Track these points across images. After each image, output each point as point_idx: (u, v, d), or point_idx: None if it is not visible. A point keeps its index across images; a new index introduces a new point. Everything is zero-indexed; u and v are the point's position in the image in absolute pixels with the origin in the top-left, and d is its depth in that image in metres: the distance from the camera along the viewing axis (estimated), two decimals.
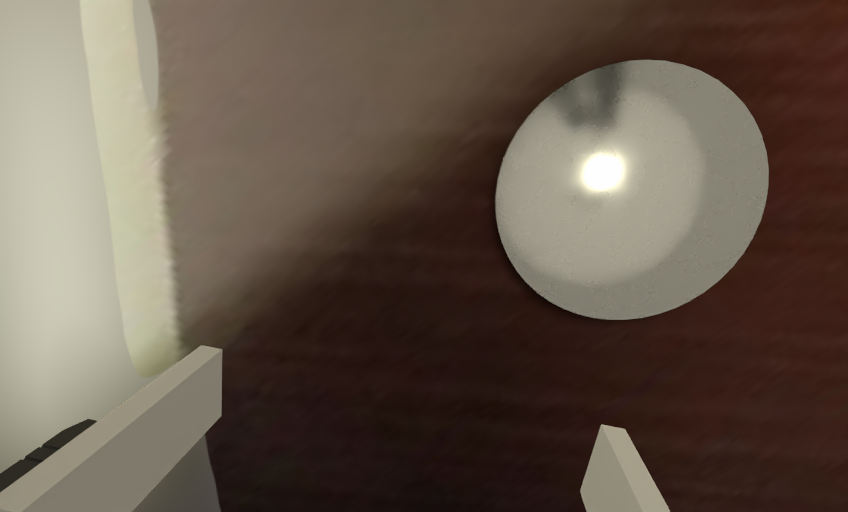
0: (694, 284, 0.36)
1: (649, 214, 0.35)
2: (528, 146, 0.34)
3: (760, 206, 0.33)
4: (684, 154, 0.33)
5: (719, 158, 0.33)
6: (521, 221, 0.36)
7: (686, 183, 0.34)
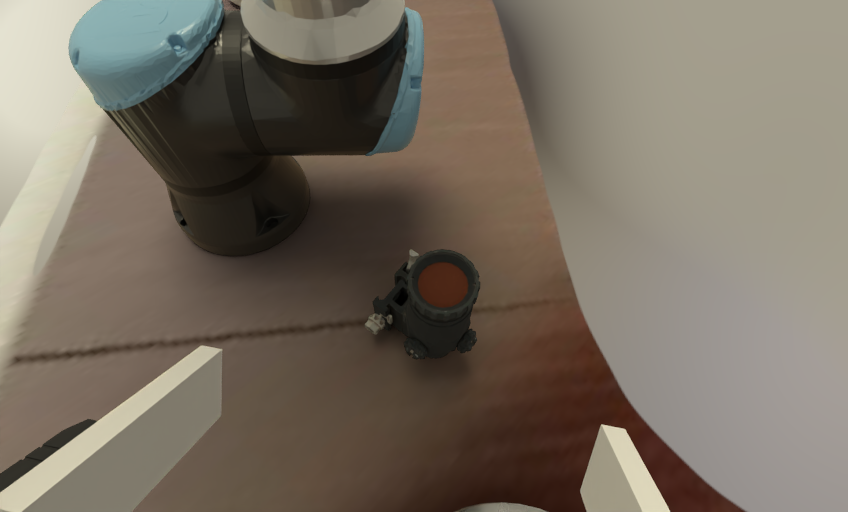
0: None
1: None
2: None
3: None
4: None
5: None
6: None
7: None
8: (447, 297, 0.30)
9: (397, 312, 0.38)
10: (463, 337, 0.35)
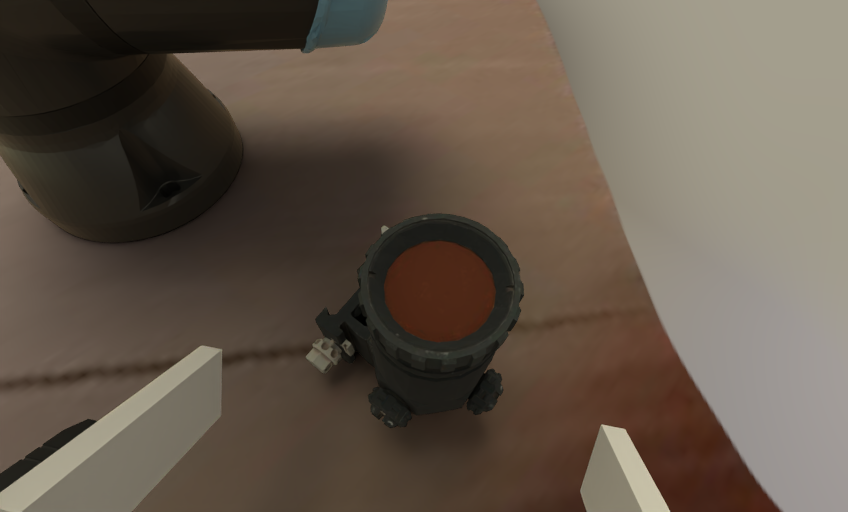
0: None
1: None
2: None
3: None
4: None
5: None
6: None
7: None
8: (449, 318, 0.13)
9: (359, 337, 0.21)
10: (479, 387, 0.19)
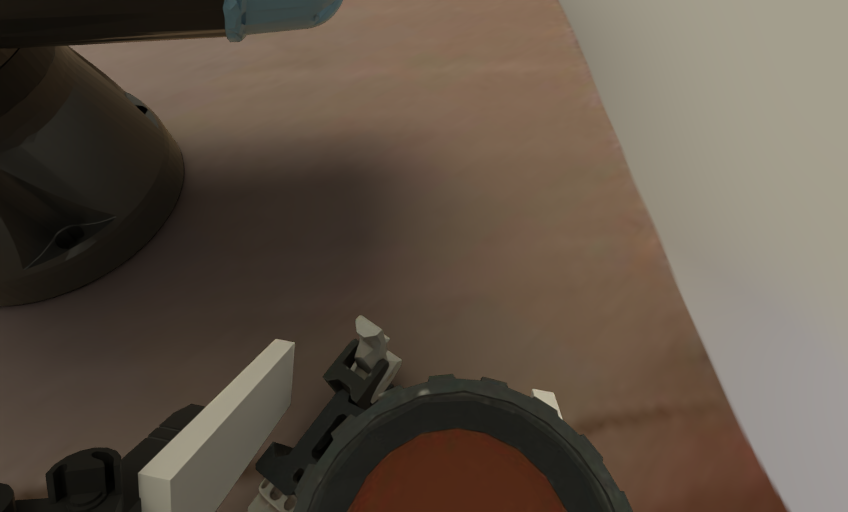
0: None
1: None
2: None
3: None
4: None
5: None
6: None
7: None
8: None
9: None
10: None
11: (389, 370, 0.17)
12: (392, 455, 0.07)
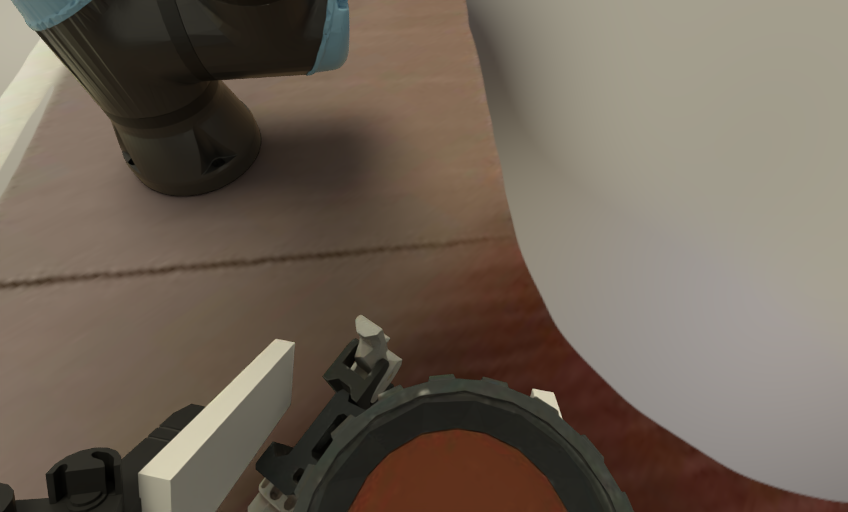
0: None
1: None
2: None
3: None
4: None
5: None
6: None
7: None
8: None
9: None
10: None
11: (389, 370, 0.17)
12: (392, 455, 0.07)
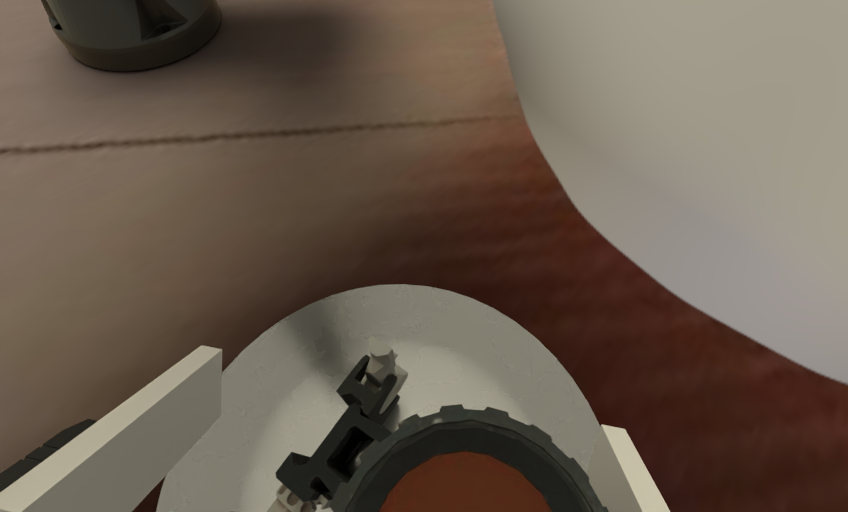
0: None
1: None
2: (221, 419, 0.21)
3: None
4: (463, 398, 0.22)
5: (514, 397, 0.22)
6: None
7: None
8: None
9: None
10: None
11: (397, 383, 0.19)
12: (410, 474, 0.08)
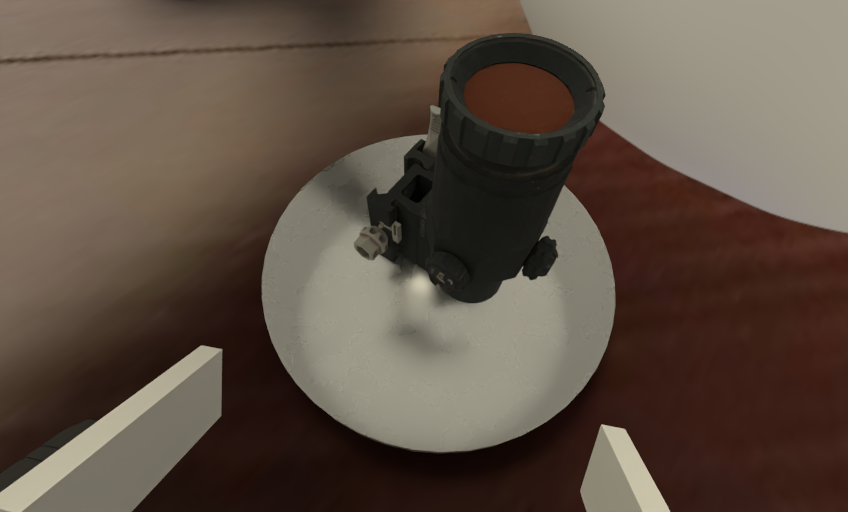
0: (576, 360, 0.23)
1: None
2: (305, 216, 0.27)
3: (601, 247, 0.26)
4: None
5: None
6: (300, 304, 0.24)
7: None
8: (533, 118, 0.13)
9: (410, 214, 0.21)
10: (536, 247, 0.19)
11: None
12: (484, 68, 0.14)
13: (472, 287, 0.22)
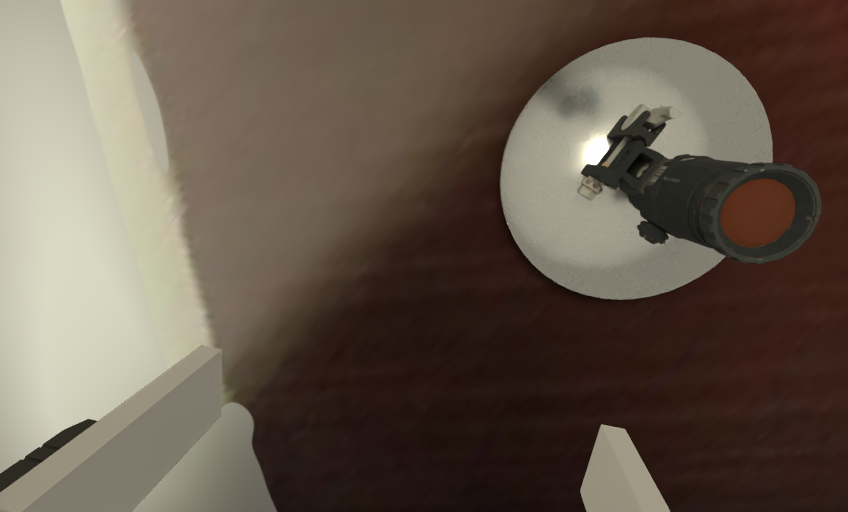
0: None
1: None
2: (525, 144, 0.35)
3: (767, 162, 0.33)
4: (680, 124, 0.33)
5: (717, 122, 0.33)
6: (530, 217, 0.36)
7: (688, 151, 0.34)
8: (761, 234, 0.22)
9: (630, 186, 0.30)
10: None
11: None
12: (740, 187, 0.22)
13: None
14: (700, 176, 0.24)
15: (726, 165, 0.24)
